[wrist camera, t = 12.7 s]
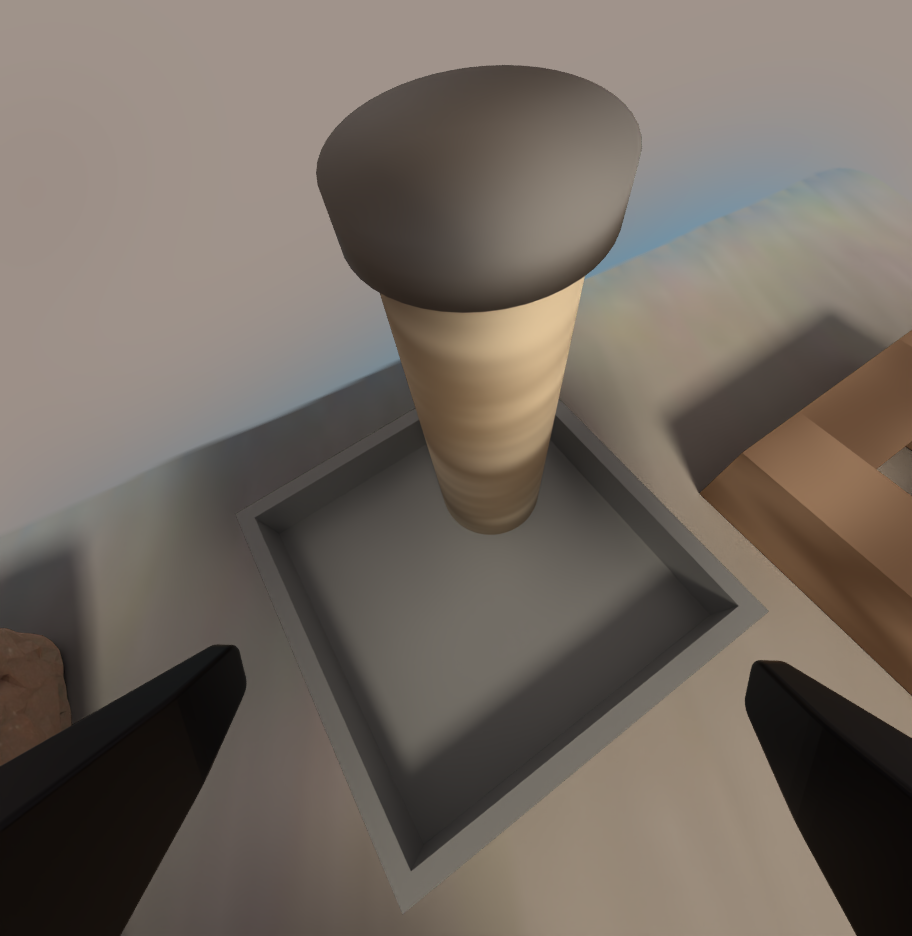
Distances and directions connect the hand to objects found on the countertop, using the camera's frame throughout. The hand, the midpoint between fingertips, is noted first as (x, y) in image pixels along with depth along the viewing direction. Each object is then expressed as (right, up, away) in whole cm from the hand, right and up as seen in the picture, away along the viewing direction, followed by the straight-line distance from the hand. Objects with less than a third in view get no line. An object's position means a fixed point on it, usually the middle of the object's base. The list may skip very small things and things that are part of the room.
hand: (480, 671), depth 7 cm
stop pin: (+1, +3, +11) cm, 11 cm away
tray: (0, -1, +10) cm, 9 cm away
